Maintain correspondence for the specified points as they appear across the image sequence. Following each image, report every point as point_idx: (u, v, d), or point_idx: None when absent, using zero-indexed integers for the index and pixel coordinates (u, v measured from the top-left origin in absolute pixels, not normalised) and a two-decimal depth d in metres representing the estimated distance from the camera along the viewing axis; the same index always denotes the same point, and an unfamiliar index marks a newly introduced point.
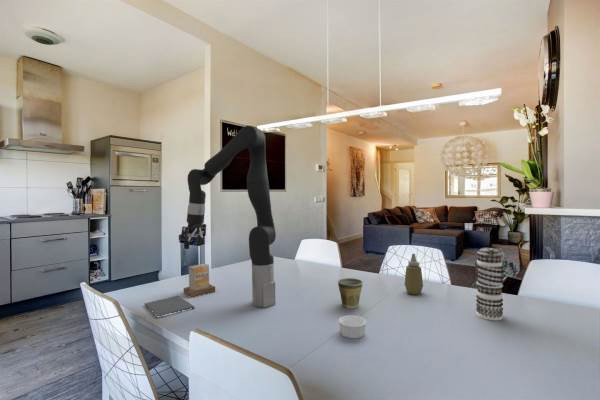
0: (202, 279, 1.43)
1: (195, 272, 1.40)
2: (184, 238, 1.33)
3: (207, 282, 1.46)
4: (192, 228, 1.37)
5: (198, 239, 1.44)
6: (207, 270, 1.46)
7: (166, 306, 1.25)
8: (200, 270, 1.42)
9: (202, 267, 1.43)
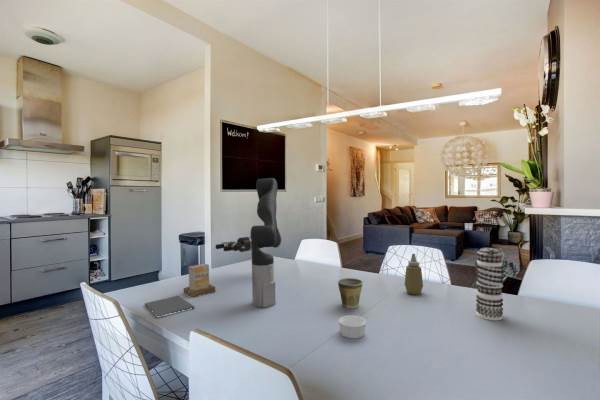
0: (202, 279, 1.43)
1: (195, 272, 1.40)
2: None
3: (207, 282, 1.46)
4: (233, 242, 1.60)
5: None
6: (207, 270, 1.45)
7: (166, 306, 1.25)
8: (200, 270, 1.42)
9: (202, 267, 1.43)
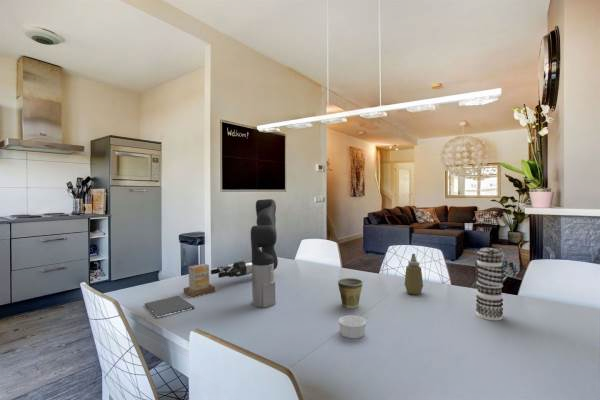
0: (202, 279, 1.43)
1: (195, 272, 1.40)
2: None
3: (207, 282, 1.46)
4: None
5: None
6: (207, 270, 1.45)
7: (166, 306, 1.25)
8: (200, 270, 1.42)
9: (202, 267, 1.43)
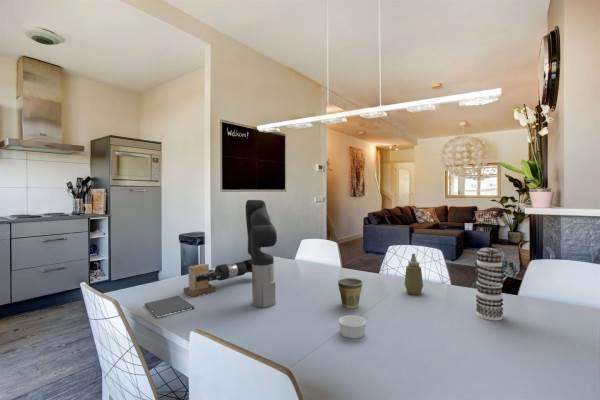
0: None
1: (195, 272, 1.40)
2: None
3: (207, 282, 1.46)
4: None
5: None
6: (207, 270, 1.46)
7: (166, 306, 1.25)
8: (200, 270, 1.42)
9: (202, 267, 1.43)
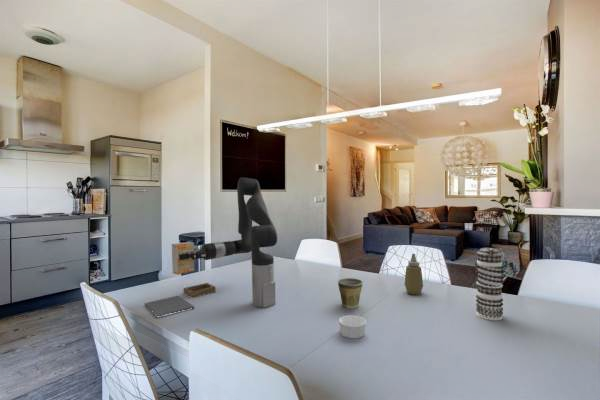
0: None
1: (178, 249, 1.31)
2: None
3: (192, 261, 1.36)
4: (196, 249, 1.42)
5: None
6: (192, 248, 1.36)
7: (166, 306, 1.25)
8: (183, 248, 1.33)
9: (186, 244, 1.34)
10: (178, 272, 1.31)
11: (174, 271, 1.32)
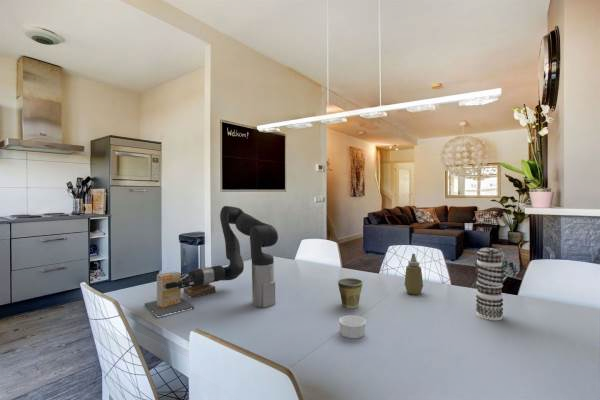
0: (171, 289, 1.25)
1: (163, 281, 1.23)
2: None
3: (178, 292, 1.28)
4: None
5: None
6: (178, 279, 1.27)
7: None
8: (169, 279, 1.25)
9: (172, 275, 1.25)
10: (162, 305, 1.23)
11: (158, 304, 1.24)
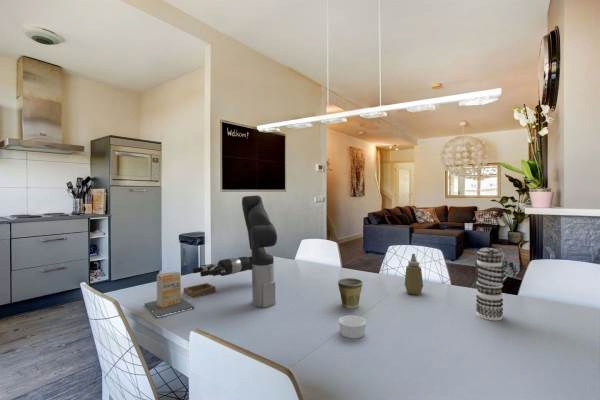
0: (171, 289, 1.25)
1: (163, 281, 1.23)
2: (201, 266, 1.44)
3: (178, 292, 1.28)
4: (213, 265, 1.44)
5: None
6: (178, 279, 1.27)
7: None
8: (169, 279, 1.25)
9: (172, 275, 1.25)
10: (162, 305, 1.23)
11: (158, 304, 1.24)
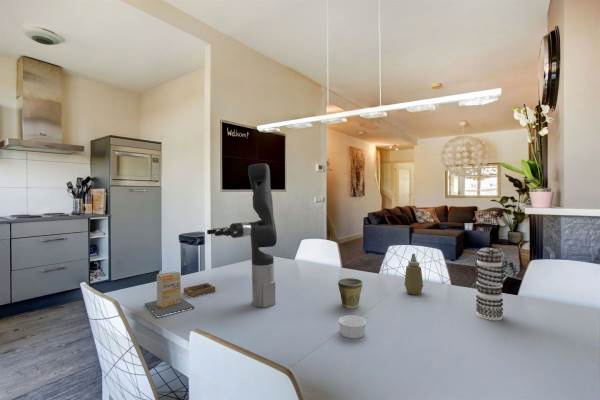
0: (171, 289, 1.25)
1: (163, 281, 1.23)
2: (214, 229, 1.56)
3: (178, 292, 1.28)
4: None
5: None
6: (178, 279, 1.27)
7: None
8: (169, 279, 1.25)
9: (172, 275, 1.25)
10: (162, 305, 1.23)
11: (158, 304, 1.24)
